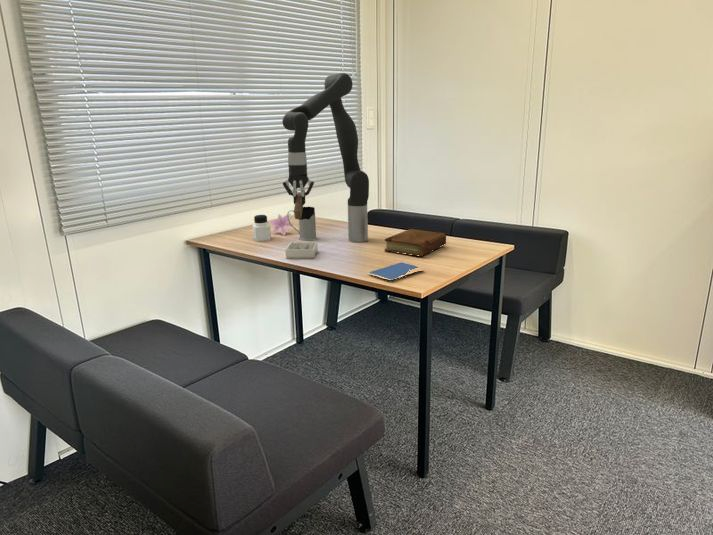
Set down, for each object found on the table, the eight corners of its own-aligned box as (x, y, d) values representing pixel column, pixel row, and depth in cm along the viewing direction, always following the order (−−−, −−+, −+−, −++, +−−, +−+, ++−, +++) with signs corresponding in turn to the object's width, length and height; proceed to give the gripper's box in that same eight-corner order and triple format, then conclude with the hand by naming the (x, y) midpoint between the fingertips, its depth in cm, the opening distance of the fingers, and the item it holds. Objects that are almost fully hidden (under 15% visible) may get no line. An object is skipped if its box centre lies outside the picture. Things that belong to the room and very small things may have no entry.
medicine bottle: (271, 240, 243) (269, 215, 239) (256, 242, 240) (254, 217, 237) (267, 237, 249) (266, 213, 246) (253, 238, 247) (251, 214, 243)
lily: (266, 232, 258) (264, 218, 251) (285, 223, 264) (283, 208, 257) (281, 244, 252) (279, 229, 245) (299, 233, 258) (298, 219, 251)
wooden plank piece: (300, 219, 208) (304, 200, 216) (299, 210, 204) (302, 192, 213) (295, 219, 208) (298, 200, 216) (293, 210, 205) (297, 192, 213)
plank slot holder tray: (317, 250, 224) (317, 242, 223) (314, 258, 213) (313, 249, 211) (290, 250, 225) (290, 242, 223) (285, 258, 213) (285, 249, 212)
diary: (422, 257, 213) (422, 244, 211) (384, 251, 223) (384, 239, 221) (445, 245, 231) (446, 233, 229) (409, 240, 241) (410, 228, 239)
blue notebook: (401, 264, 204) (401, 261, 204) (425, 271, 196) (425, 268, 195) (367, 275, 192) (367, 272, 191) (391, 283, 183) (391, 279, 183)
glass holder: (314, 241, 240) (312, 210, 235) (285, 240, 243) (283, 209, 238) (319, 236, 248) (318, 206, 244) (291, 235, 251) (289, 206, 246)
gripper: (315, 162, 210) (317, 203, 215) (282, 162, 211) (285, 203, 216) (313, 164, 203) (314, 206, 208) (279, 164, 204) (281, 207, 209)
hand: (299, 205), depth 212 cm, fingers closed on wooden plank piece, 2 cm apart
